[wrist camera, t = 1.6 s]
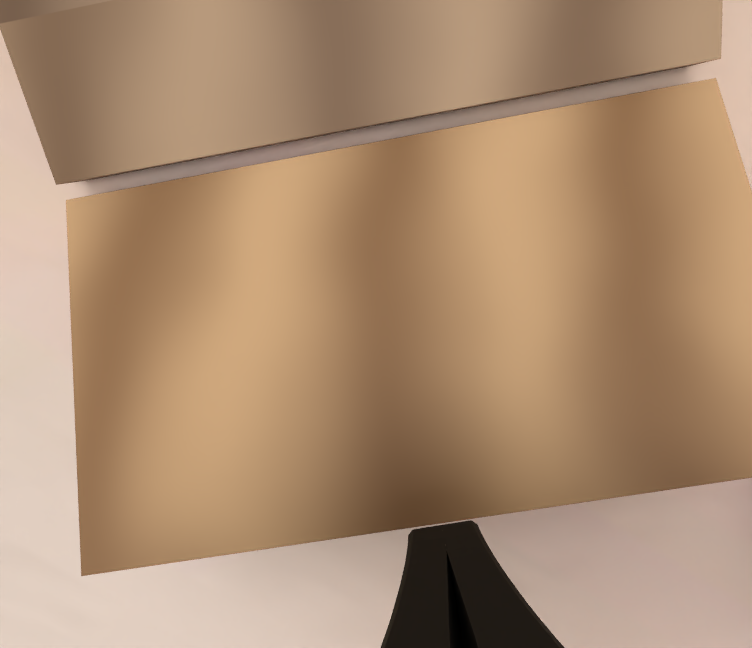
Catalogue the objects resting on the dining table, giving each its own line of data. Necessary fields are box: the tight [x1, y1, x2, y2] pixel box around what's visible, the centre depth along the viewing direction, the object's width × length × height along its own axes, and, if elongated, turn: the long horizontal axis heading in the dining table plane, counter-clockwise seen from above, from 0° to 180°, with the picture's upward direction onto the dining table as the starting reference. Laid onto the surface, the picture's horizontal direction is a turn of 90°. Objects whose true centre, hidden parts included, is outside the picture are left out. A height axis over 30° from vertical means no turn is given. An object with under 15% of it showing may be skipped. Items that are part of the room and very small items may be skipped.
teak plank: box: [66, 78, 752, 576], centre depth 14 cm, size 18×10×2 cm, turn 100°
